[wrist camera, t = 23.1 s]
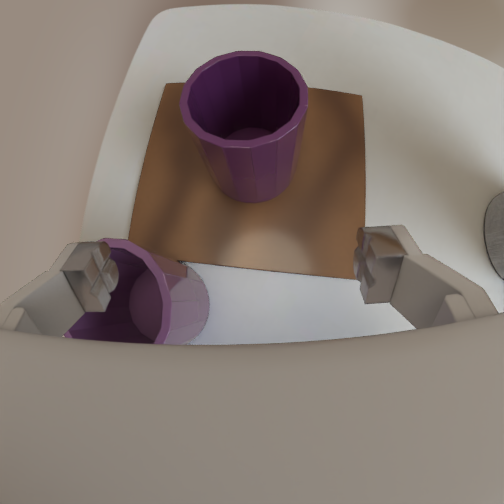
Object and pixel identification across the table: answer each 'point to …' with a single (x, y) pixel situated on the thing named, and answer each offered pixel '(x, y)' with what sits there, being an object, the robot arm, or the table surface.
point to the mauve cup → (147, 300)
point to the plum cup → (247, 122)
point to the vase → (495, 233)
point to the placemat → (265, 213)
